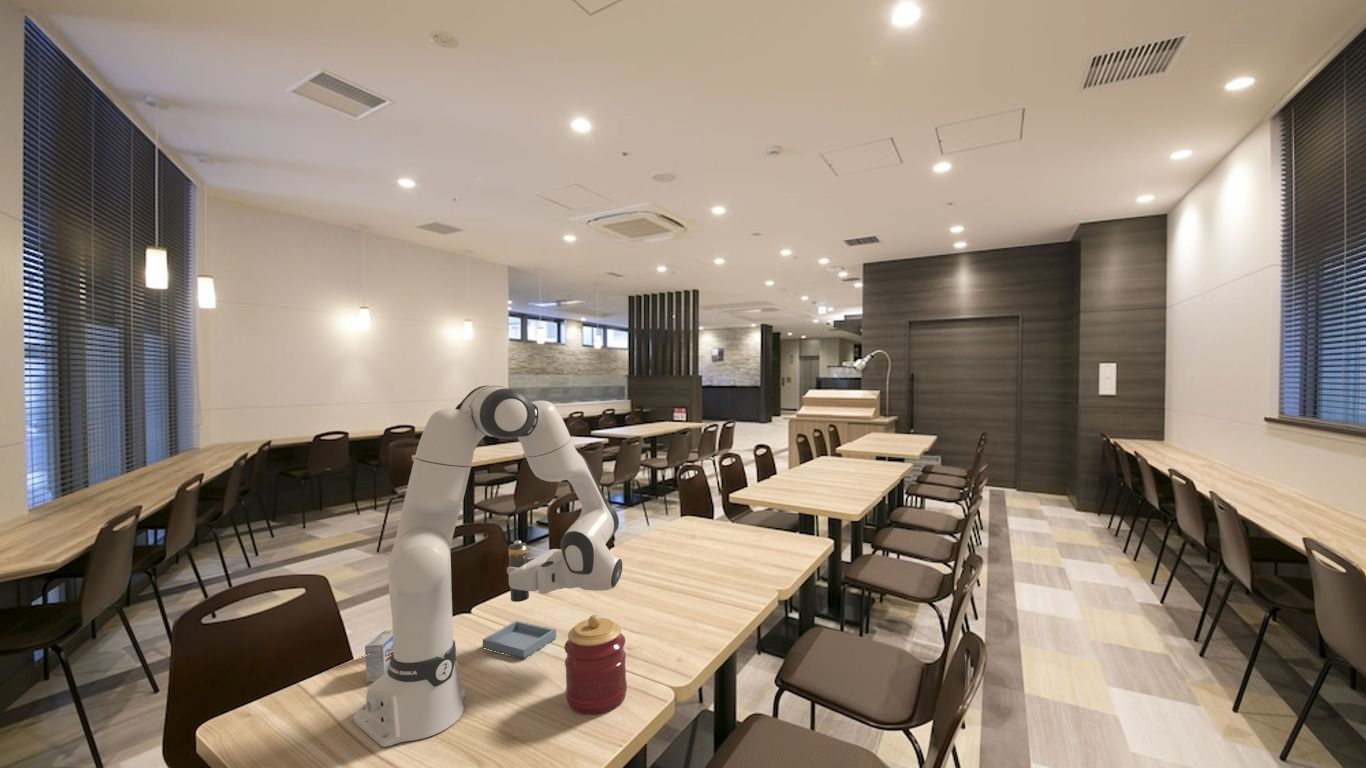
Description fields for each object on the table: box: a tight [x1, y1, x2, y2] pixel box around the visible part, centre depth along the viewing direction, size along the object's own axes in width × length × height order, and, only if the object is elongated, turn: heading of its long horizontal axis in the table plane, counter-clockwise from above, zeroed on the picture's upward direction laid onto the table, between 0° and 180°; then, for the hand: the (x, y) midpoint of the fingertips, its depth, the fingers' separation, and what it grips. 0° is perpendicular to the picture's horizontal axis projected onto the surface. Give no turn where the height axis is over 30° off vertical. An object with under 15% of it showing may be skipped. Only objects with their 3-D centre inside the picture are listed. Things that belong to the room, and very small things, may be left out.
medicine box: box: [364, 629, 393, 683], centre depth 127 cm, size 8×4×9 cm, turn 179°
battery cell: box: [508, 539, 530, 603], centre depth 139 cm, size 5×5×15 cm
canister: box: [563, 614, 628, 715], centre depth 114 cm, size 13×13×18 cm
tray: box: [482, 620, 557, 661], centre depth 139 cm, size 14×12×2 cm
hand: (515, 565), depth 140 cm, fingers closed on battery cell, 5 cm apart
